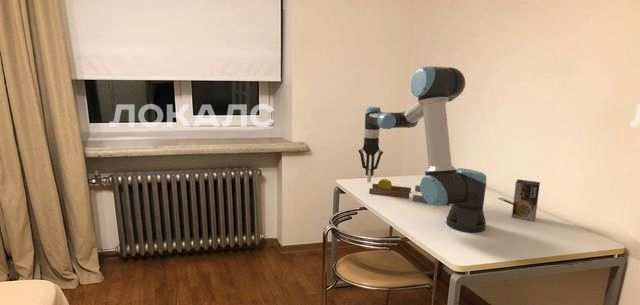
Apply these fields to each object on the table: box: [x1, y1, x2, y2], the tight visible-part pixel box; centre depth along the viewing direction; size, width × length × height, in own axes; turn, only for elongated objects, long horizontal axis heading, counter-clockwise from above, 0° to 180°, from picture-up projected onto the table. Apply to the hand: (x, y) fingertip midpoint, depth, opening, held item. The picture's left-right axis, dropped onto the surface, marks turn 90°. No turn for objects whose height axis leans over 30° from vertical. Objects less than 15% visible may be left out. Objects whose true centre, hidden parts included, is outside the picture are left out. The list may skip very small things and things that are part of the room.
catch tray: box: [412, 184, 450, 206], centre depth 194 cm, size 19×17×3 cm
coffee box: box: [511, 178, 541, 222], centre depth 169 cm, size 9×6×16 cm
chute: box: [368, 183, 412, 199], centre depth 200 cm, size 11×20×2 cm, turn 73°
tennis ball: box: [377, 178, 393, 190], centre depth 201 cm, size 7×7×7 cm
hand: (369, 181), depth 203 cm, fingers closed
